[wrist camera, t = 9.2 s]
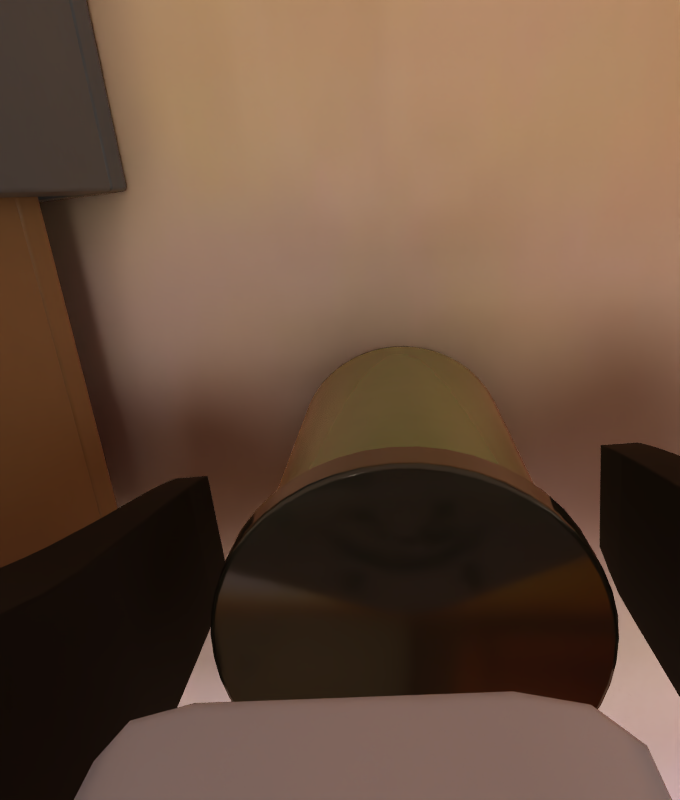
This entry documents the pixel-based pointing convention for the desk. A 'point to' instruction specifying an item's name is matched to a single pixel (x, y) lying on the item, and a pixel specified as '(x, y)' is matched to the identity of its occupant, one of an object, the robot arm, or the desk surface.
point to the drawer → (42, 399)
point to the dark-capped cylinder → (410, 555)
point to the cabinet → (53, 104)
